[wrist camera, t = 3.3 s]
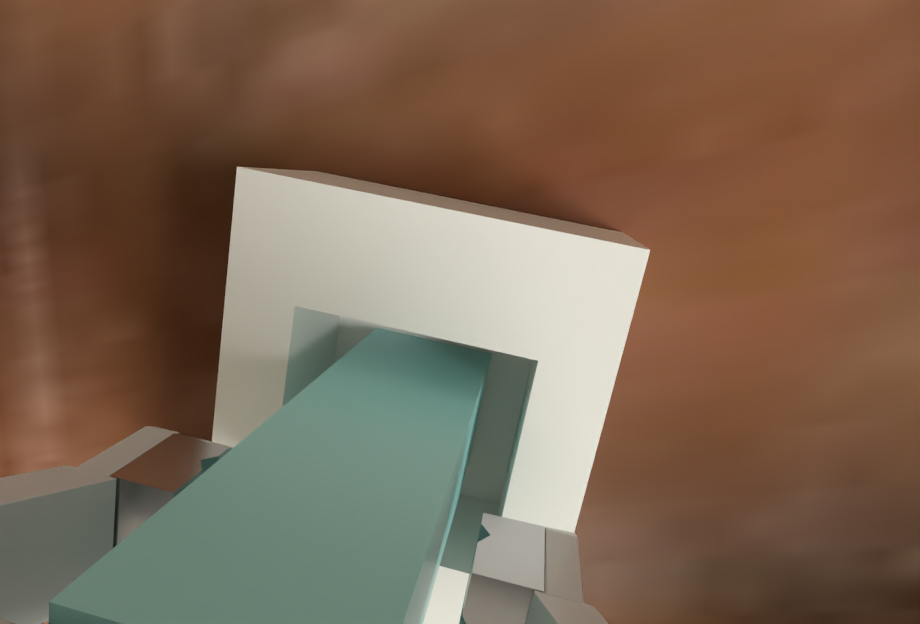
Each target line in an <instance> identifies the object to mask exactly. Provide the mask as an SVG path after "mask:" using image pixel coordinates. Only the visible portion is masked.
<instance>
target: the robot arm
mask: <svg viewBox="0 0 920 624" xmlns="http://www.w3.org/2000/svg"><path fill="white" fill-rule="evenodd" d="M231 449H233V447H229V446H225V445H222V444H218V443H215V442H211V441H207V440H204V439H200V438H197V437H193V436H189V435H186V434H182V433H178V432H176V431H172V430H168V429H164V428H159V427H155V426H145V427H144V428H142V429H140V430H139V431H137V432H135V433H133V434H132V435H130V436H128V437H127V438H125V439H123V440H122V441H120V442H118V443H117V444H115V445H113V446H111V447H110V448H108V449H106V450H105V451H103V452H101V453H100V454H98V455H96V456H95V457H93V458H91V459H89V460H88V461H86V462H84V463H83V464H81V465H79V466H78V467H72V466H68V465H65V466H60V467H55V468H50V469H44V470H39V471H34V472H29V473H23V474H18V475H13V476H8V477H2V478H0V624H41V623H43V622H45V621H48V620H49V602H50V601H51V600H52V599H53V598H54V597H56V596H57V595H58V594H59V593H60V592H62V591H63V590H64V589H65V588H66V587H68V586H69V585H70V584H71V583H72V582H74V581H75V580H76V579H77V578H78V577H79V576H81V575H82V574H83V573H84V572H85V571H87V570H88V569H89V568H90V567H91V566H93V565H94V564H95V563H96V562H97V561H99V560H100V559H101V558H102V557H103V556H105V555H106V554H107V553H108V552H109V551H111V550H112V549H113V548H114V547H115V546H117V545H118V544H119V543H120V542H121V541H123V540H124V539H125V538H126V537H127V536H129V535H130V534H131V533H132V532H133V531H135V530H136V529H137V528H138V527H139V526H141V525H142V524H143V523H144V522H145V521H146V520H148V519H149V518H150V517H151V516H152V515H154V514H155V513H156V512H157V511H158V510H160V509H161V508H162V507H163V506H164V505H166V504H167V503H168V502H169V501H170V500H172V499H173V498H174V497H175V496H176V495H178V494H179V493H180V492H181V491H182V490H184V489H185V488H186V487H187V486H188V485H190V484H191V483H192V482H193V481H194V480H196V479H197V478H198V477H199V476H200V475H202V474H203V473H204V472H205V471H206V470H208V469H209V468H210V467H211V466H212V465H213V464H215V463H216V462H217V461H218V460H219V459H221V458H222V457H223V456H224V455H225V454H227V453H228V452H229V451H230V450H231ZM459 624H608V622H607V621H606V620H605V619H604V618H603V616H602V615H601V614H600V613H599V612H598V611H597V609H596V608H595V607H594V606H591V605H588V604H584V596H583V585H582V574H581V563H580V552H579V541H578V536H577V535H576V534H575V533H572V532H568V531H563V530H558V529H554V528H549V527H544V526H540V525H536V524H531V523H527V522H522V521H518V520H514V519H509V518H505V517H501V516H496V515H492V514H487V513H483V516H482V520H481V525H480V529H479V533H478V538H477V542H476V547H475V552H474V556H473V560H472V565H471V569H470V574H469V579H468V583H467V588H466V592H465V596H464V601H463V606H462V611H461V616H460V621H459Z"/></svg>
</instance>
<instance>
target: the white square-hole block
mask: <svg viewBox="0 0 920 624" xmlns="http://www.w3.org/2000/svg"><path fill="white" fill-rule="evenodd" d="M649 253H650V250H649V249H648V248H646V247H645V246H643V245H642V244H640V243H639V242H637V241H635V240H634V239H632V238H631V237H629V236H628V235H626V234H624V233H623V232H618V231H613V230H608V229H603V228H598V227H593V226H588V225H583V224H578V223H573V222H568V221H563V220H558V219H553V218H548V217H543V216H538V215H533V214H528V213H523V212H518V211H513V210H508V209H503V208H498V207H493V206H488V205H483V204H478V203H473V202H468V201H463V200H458V199H453V198H448V197H443V196H438V195H433V194H428V193H423V192H418V191H413V190H408V189H403V188H398V187H393V186H388V185H383V184H378V183H373V182H368V181H363V180H358V179H353V178H348V177H343V176H338V175H333V174H328V173H323V172H318V171H304V170H287V169H270V168H253V167H237V172H236V183H235V193H234V204H233V215H232V226H231V237H230V248H229V259H228V270H227V281H226V292H225V303H224V314H223V325H222V336H221V347H220V358H219V368H218V379H217V390H216V401H215V412H214V423H213V434H212V442H215V443H218V444H222V445H225V446H229V447H233V448H234V447H235V446H236V445H237V444H239V443H240V442H241V441H242V440H243V439H245V438H246V437H247V436H248V435H249V434H251V433H252V432H253V431H254V430H255V429H257V428H258V427H259V426H260V425H261V424H263V423H264V422H265V421H266V420H267V419H269V418H270V417H271V416H272V415H273V414H274V413H276V412H277V411H278V410H279V409H280V408H282V407H283V406H284V405H285V404H286V403H288V402H289V401H290V400H291V399H292V398H294V397H295V396H296V395H297V394H298V393H300V392H301V391H302V390H303V389H304V388H306V387H307V386H308V385H309V384H310V383H312V382H313V381H314V380H315V379H316V378H318V377H319V376H320V375H321V374H322V373H324V372H325V371H326V370H327V369H328V368H330V367H331V366H332V365H333V364H334V363H336V362H337V361H338V360H339V359H340V358H341V357H343V356H344V355H345V354H346V353H347V352H349V351H350V350H351V349H352V348H353V347H355V346H356V345H357V344H358V343H359V342H361V341H362V340H363V339H364V338H365V337H367V336H368V335H369V334H370V333H371V332H373V331H374V330H375V329H376V328H380V329H385V330H389V331H393V332H398V333H402V334H407V335H411V336H416V337H420V338H424V339H429V340H433V341H438V342H442V343H446V344H451V345H455V346H460V347H464V348H469V349H473V350H477V351H482V352H486V353H491V354H492V356H491V361H490V366H489V371H488V375H487V380H486V385H485V390H484V394H483V399H482V404H481V408H480V413H479V418H478V423H477V427H476V432H475V437H474V441H473V446H472V451H471V456H470V460H469V464H468V468H467V471H466V475H465V478H464V482H463V485H462V489H461V492H460V496H459V499H458V503H457V506H456V510H455V513H454V517H453V520H452V524H451V527H450V531H449V534H448V538H447V541H446V545H445V548H444V552H443V555H442V559H441V562H440V566H439V569H438V573H437V576H436V580H435V583H434V587H433V590H432V594H431V597H430V601H429V604H428V608H427V611H426V615H425V618H424V622H423V624H459V621H460V616H461V611H462V606H463V601H464V596H465V592H466V588H467V583H468V579H469V574H470V569H471V565H472V560H473V556H474V552H475V547H476V542H477V538H478V533H479V529H480V525H481V520H482V516H483V513H487V514H492V515H496V516H501V517H505V518H509V519H514V520H518V521H522V522H527V523H531V524H536V525H540V526H544V527H549V528H554V529H558V530H563V531H568V532H572V533H574V531H575V528H576V524H577V520H578V516H579V513H580V509H581V505H582V502H583V498H584V494H585V490H586V487H587V483H588V479H589V476H590V472H591V468H592V464H593V461H594V457H595V453H596V450H597V446H598V442H599V438H600V435H601V431H602V427H603V424H604V420H605V416H606V413H607V409H608V405H609V401H610V398H611V394H612V390H613V387H614V383H615V379H616V375H617V372H618V368H619V364H620V361H621V357H622V353H623V349H624V346H625V342H626V338H627V335H628V331H629V327H630V323H631V320H632V316H633V312H634V309H635V305H636V301H637V297H638V294H639V290H640V286H641V283H642V279H643V275H644V271H645V268H646V264H647V260H648V257H649Z"/></svg>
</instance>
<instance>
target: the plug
mask: <svg viewBox="0 0 920 624" xmlns="http://www.w3.org/2000/svg"><path fill="white" fill-rule="evenodd" d="M491 356H492V354H491V353H486V352H482V351H477V350H473V349H469V348H464V347H460V346H455V345H451V344H446V343H442V342H438V341H433V340H429V339H424V338H420V337H416V336H411V335H407V334H402V333H398V332H393V331H389V330H385V329H380V328H376V329H375V330H374V331H373V332H371V333H370V334H369V335H368V336H367V337H365V338H364V339H363V340H362V341H361V342H359V343H358V344H357V345H356V346H355V347H353V348H352V349H351V350H350V351H349V352H347V353H346V354H345V355H344V356H343V357H341V358H340V359H339V360H338V361H337V362H336V363H334V364H333V365H332V366H331V367H330V368H328V369H327V370H326V371H325V372H324V373H322V374H321V375H320V376H319V377H318V378H316V379H315V380H314V381H313V382H312V383H310V384H309V385H308V386H307V387H306V388H304V389H303V390H302V391H301V392H300V393H298V394H297V395H296V396H295V397H294V398H292V399H291V400H290V401H289V402H288V403H286V404H285V405H284V406H283V407H282V408H280V409H279V410H278V411H277V412H276V413H274V414H273V415H272V416H271V417H270V418H269V419H267V420H266V421H265V422H264V423H263V424H261V425H260V426H259V427H258V428H257V429H255V430H254V431H253V432H252V433H251V434H249V435H248V436H247V437H246V438H245V439H243V440H242V441H241V442H240V443H239V444H237V445H236V446H235V447H234V448H233V449H231V450H230V451H229V452H228V453H227V454H225V455H224V456H223V457H222V458H221V459H219V460H218V461H217V462H216V463H215V464H213V465H212V466H211V467H210V468H209V469H208V470H206V471H205V472H204V473H203V474H202V475H200V476H199V477H198V478H197V479H196V480H194V481H193V482H192V483H191V484H190V485H188V486H187V487H186V488H185V489H184V490H182V491H181V492H180V493H179V494H178V495H176V496H175V497H174V498H173V499H172V500H170V501H169V502H168V503H167V504H166V505H164V506H163V507H162V508H161V509H160V510H158V511H157V512H156V513H155V514H154V515H152V516H151V517H150V518H149V519H148V520H146V521H145V522H144V523H143V524H142V525H141V526H139V527H138V528H137V529H136V530H135V531H133V532H132V533H131V534H130V535H129V536H127V537H126V538H125V539H124V540H123V541H121V542H120V543H119V544H118V545H117V546H115V547H114V548H113V549H112V550H111V551H109V552H108V553H107V554H106V555H105V556H103V557H102V558H101V559H100V560H99V561H97V562H96V563H95V564H94V565H93V566H91V567H90V568H89V569H88V570H87V571H85V572H84V573H83V574H82V575H81V576H79V577H78V578H77V579H76V580H75V581H74V582H72V583H71V584H70V585H69V586H68V587H66V588H65V589H64V590H63V591H62V592H60V593H59V594H58V595H57V596H56V597H54V598H53V599H52V600H51V601H50V602H49V624H423V622H424V618H425V615H426V611H427V608H428V604H429V601H430V597H431V594H432V590H433V587H434V583H435V580H436V576H437V573H438V569H439V566H440V562H441V559H442V555H443V552H444V548H445V545H446V541H447V538H448V534H449V531H450V527H451V524H452V520H453V517H454V513H455V510H456V506H457V503H458V499H459V496H460V492H461V489H462V485H463V482H464V478H465V475H466V471H467V468H468V464H469V460H470V456H471V451H472V446H473V441H474V437H475V432H476V427H477V423H478V418H479V413H480V408H481V404H482V399H483V394H484V390H485V385H486V380H487V375H488V371H489V366H490V361H491Z"/></svg>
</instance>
